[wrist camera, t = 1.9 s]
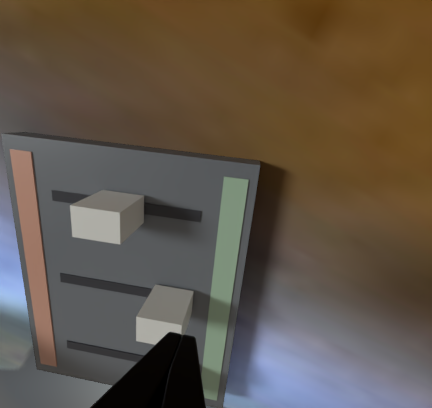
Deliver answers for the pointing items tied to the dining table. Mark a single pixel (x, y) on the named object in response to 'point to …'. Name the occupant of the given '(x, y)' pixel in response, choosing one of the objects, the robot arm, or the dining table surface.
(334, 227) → the dining table surface
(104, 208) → the breaker
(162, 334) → the breaker middle
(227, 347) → the switch panel
